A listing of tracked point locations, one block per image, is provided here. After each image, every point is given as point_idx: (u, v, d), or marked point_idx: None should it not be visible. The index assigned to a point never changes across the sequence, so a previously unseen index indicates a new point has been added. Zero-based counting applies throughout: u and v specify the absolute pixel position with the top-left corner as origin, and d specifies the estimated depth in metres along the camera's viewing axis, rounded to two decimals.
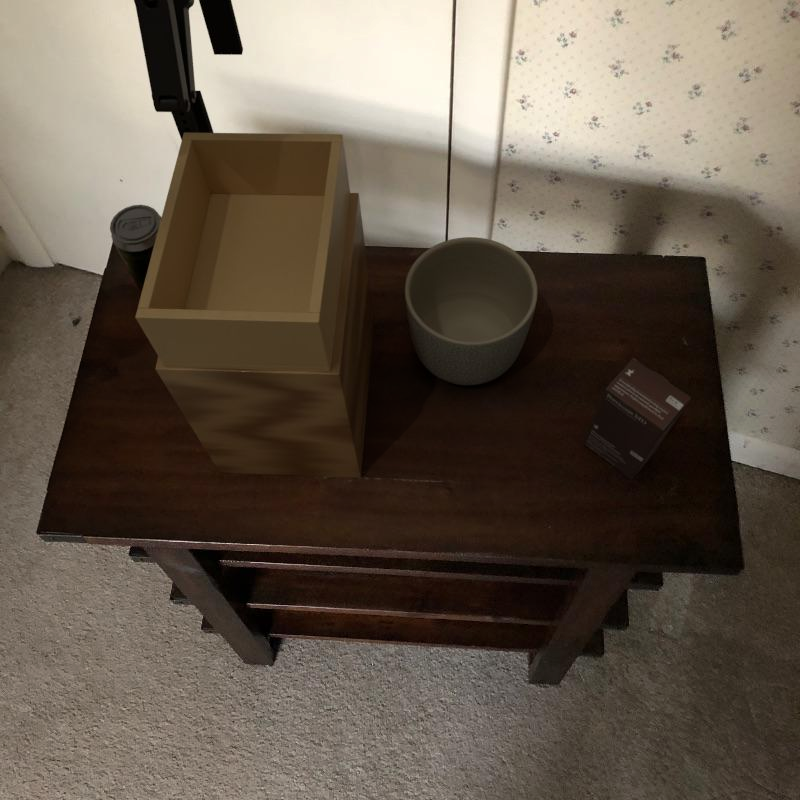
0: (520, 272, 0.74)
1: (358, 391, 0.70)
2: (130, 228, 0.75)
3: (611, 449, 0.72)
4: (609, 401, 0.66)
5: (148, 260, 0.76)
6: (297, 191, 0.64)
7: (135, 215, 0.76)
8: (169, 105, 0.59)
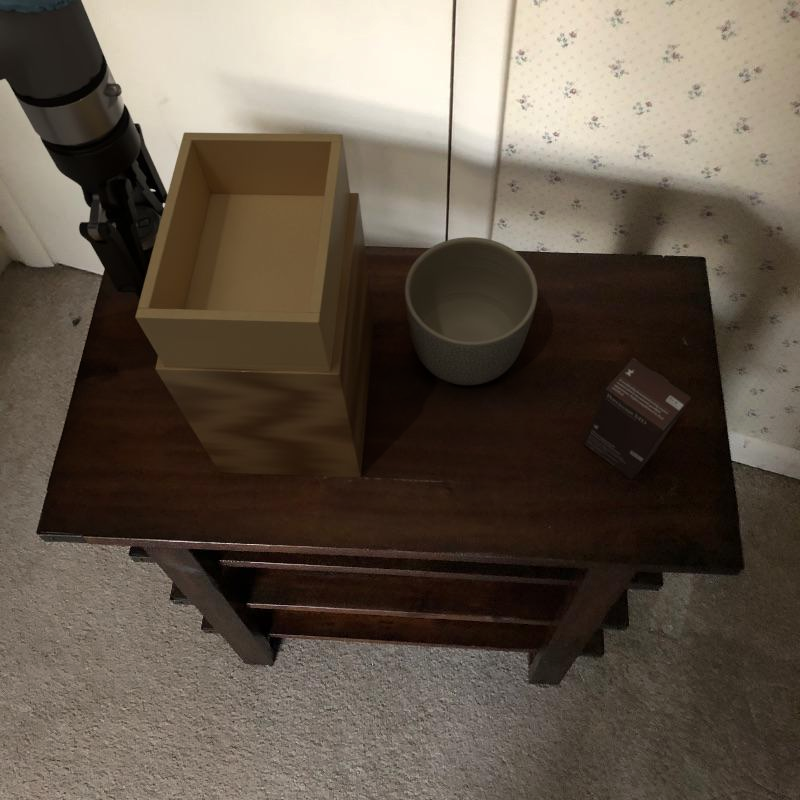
0: (520, 272, 0.74)
1: (358, 391, 0.70)
2: None
3: (611, 449, 0.72)
4: (609, 401, 0.66)
5: (148, 260, 0.76)
6: (297, 191, 0.64)
7: None
8: (129, 290, 0.74)
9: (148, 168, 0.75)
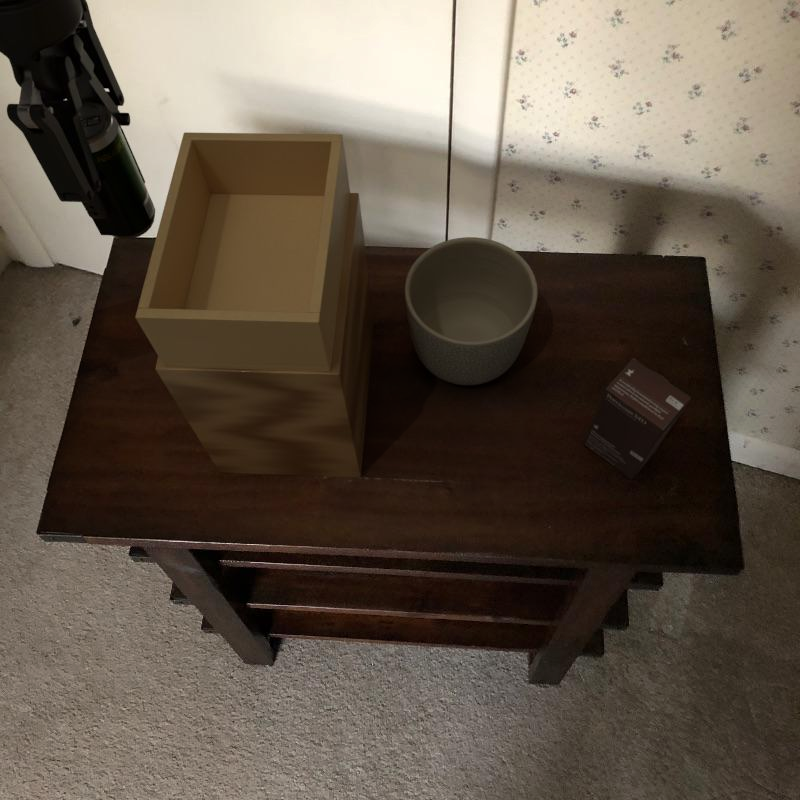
0: (520, 272, 0.74)
1: (358, 391, 0.70)
2: None
3: (611, 449, 0.72)
4: (609, 401, 0.66)
5: (98, 167, 0.65)
6: (297, 191, 0.64)
7: (82, 113, 0.64)
8: (73, 199, 0.63)
9: (98, 57, 0.64)
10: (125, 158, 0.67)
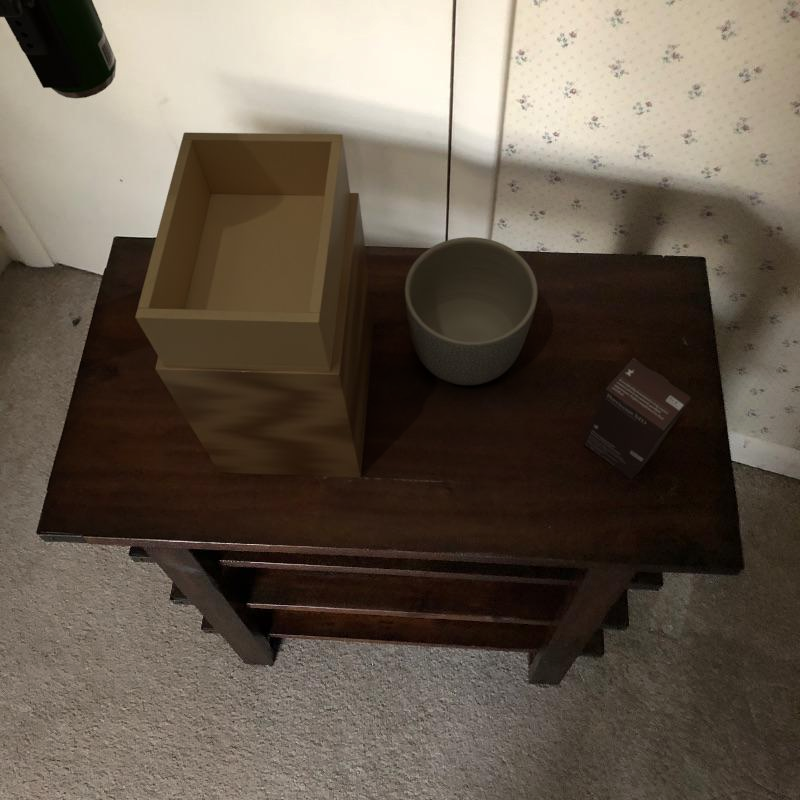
0: (520, 272, 0.74)
1: (358, 391, 0.70)
2: None
3: (611, 449, 0.72)
4: (609, 401, 0.66)
5: None
6: (297, 191, 0.64)
7: None
8: None
9: None
10: None
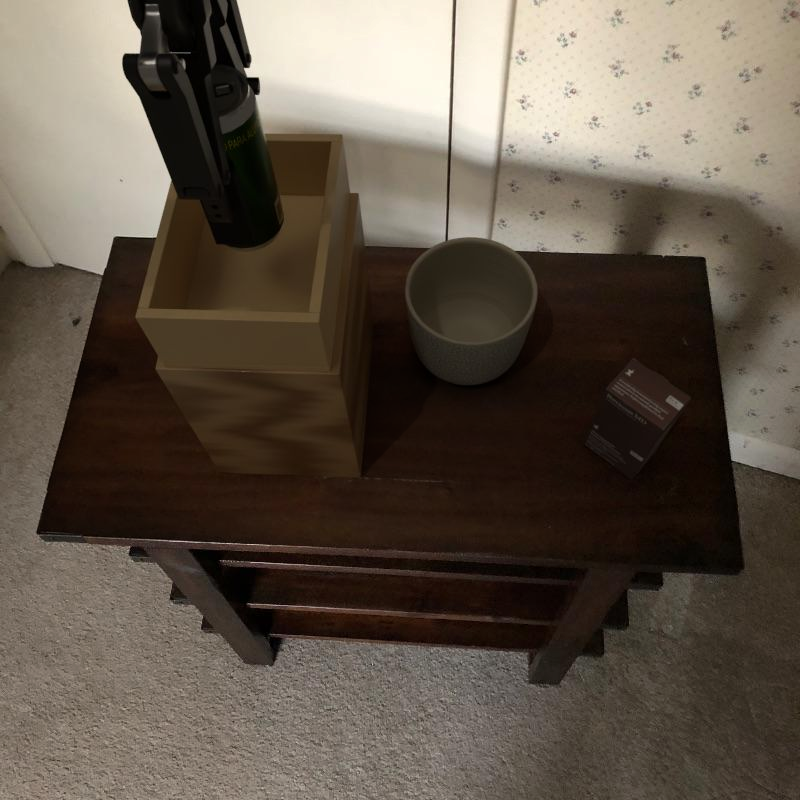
0: (520, 272, 0.74)
1: (358, 391, 0.70)
2: None
3: (611, 449, 0.72)
4: (609, 401, 0.66)
5: (228, 154, 0.47)
6: (297, 191, 0.64)
7: None
8: (197, 196, 0.45)
9: None
10: (261, 141, 0.48)
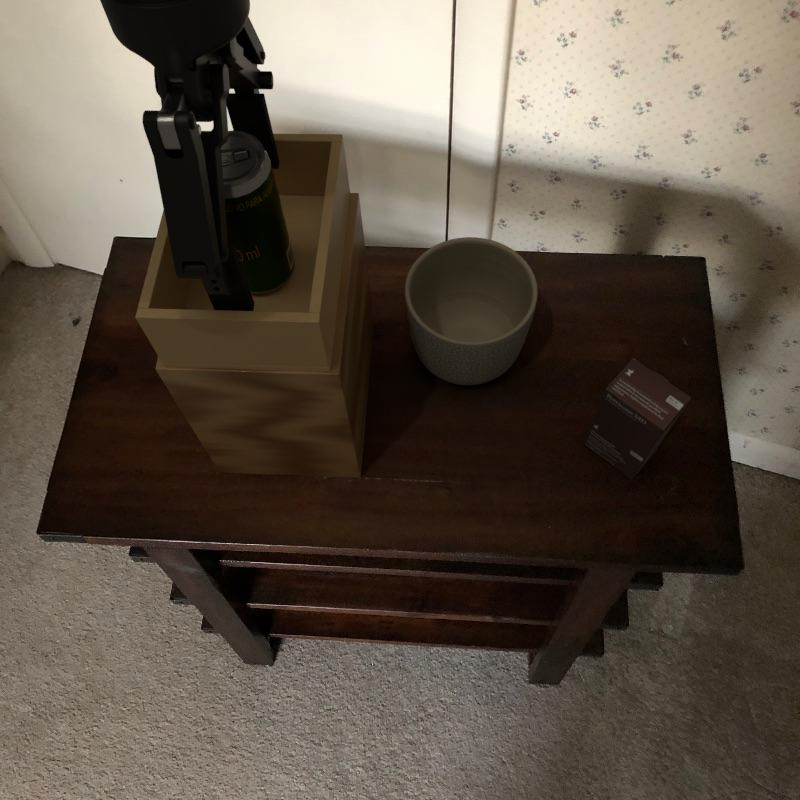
0: (520, 272, 0.74)
1: (358, 391, 0.70)
2: None
3: (611, 449, 0.72)
4: (609, 401, 0.66)
5: (245, 213, 0.51)
6: (297, 191, 0.64)
7: (227, 145, 0.51)
8: (196, 272, 0.45)
9: (243, 28, 0.50)
10: (275, 199, 0.53)
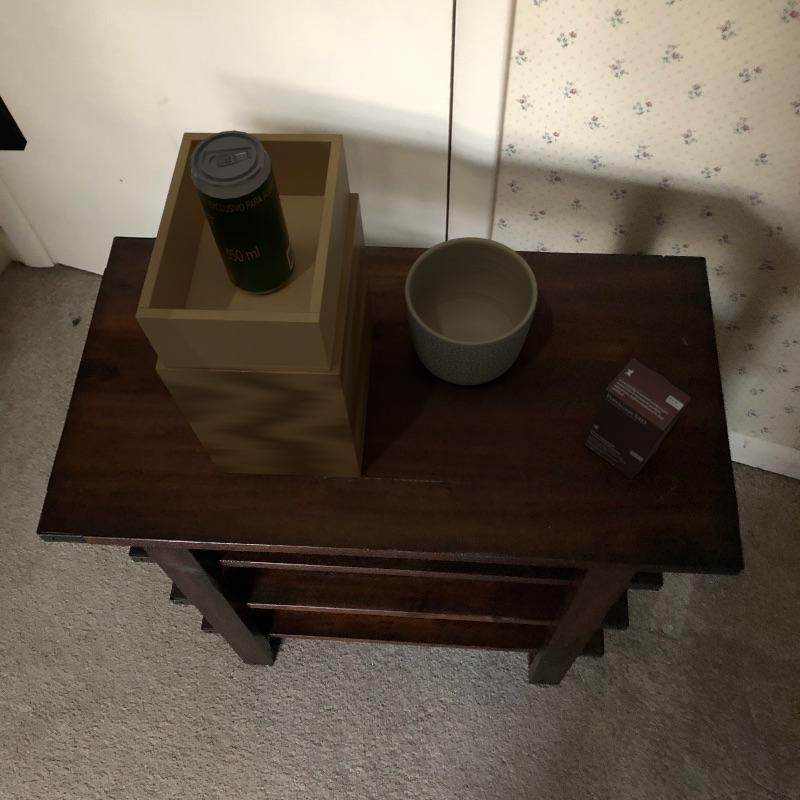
0: (520, 272, 0.74)
1: (358, 391, 0.70)
2: (220, 164, 0.50)
3: (611, 449, 0.72)
4: (609, 401, 0.66)
5: (245, 213, 0.51)
6: (297, 191, 0.64)
7: (227, 145, 0.51)
8: None
9: None
10: (275, 199, 0.53)
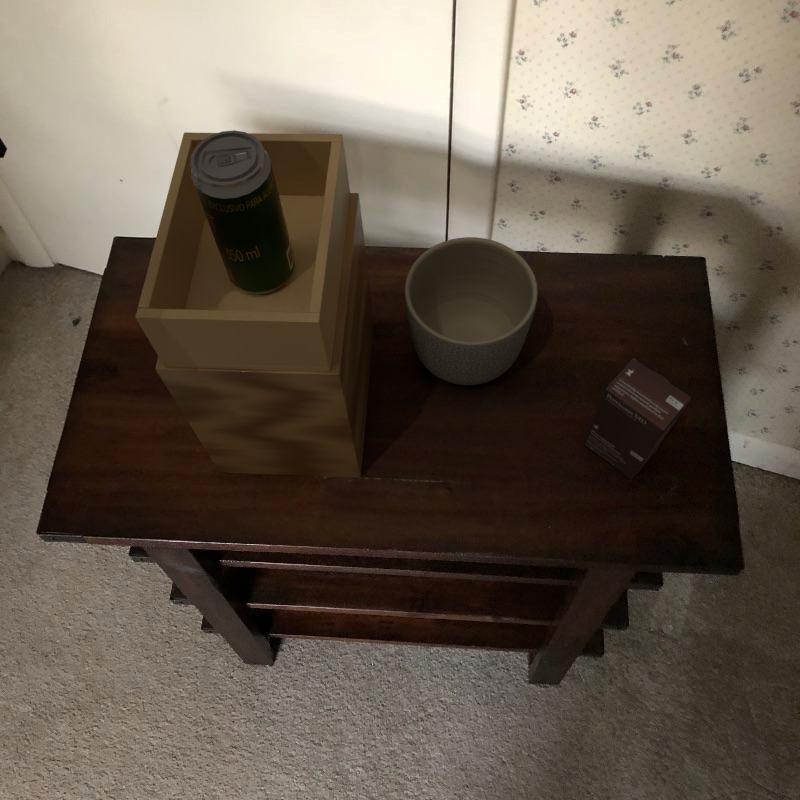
0: (520, 272, 0.74)
1: (358, 391, 0.70)
2: (220, 164, 0.50)
3: (611, 449, 0.72)
4: (609, 401, 0.66)
5: (245, 213, 0.51)
6: (297, 191, 0.64)
7: (227, 145, 0.51)
8: None
9: None
10: (275, 199, 0.53)
